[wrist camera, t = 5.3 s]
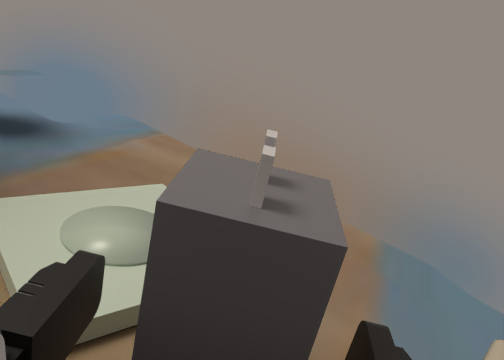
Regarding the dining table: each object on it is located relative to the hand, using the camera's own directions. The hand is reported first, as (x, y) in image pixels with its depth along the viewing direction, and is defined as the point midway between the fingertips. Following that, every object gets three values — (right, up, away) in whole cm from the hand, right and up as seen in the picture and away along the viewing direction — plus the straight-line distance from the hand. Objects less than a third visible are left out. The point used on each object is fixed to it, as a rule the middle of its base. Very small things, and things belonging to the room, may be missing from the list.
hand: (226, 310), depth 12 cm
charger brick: (-1, -5, +2) cm, 6 cm away
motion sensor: (-7, 0, +12) cm, 14 cm away
